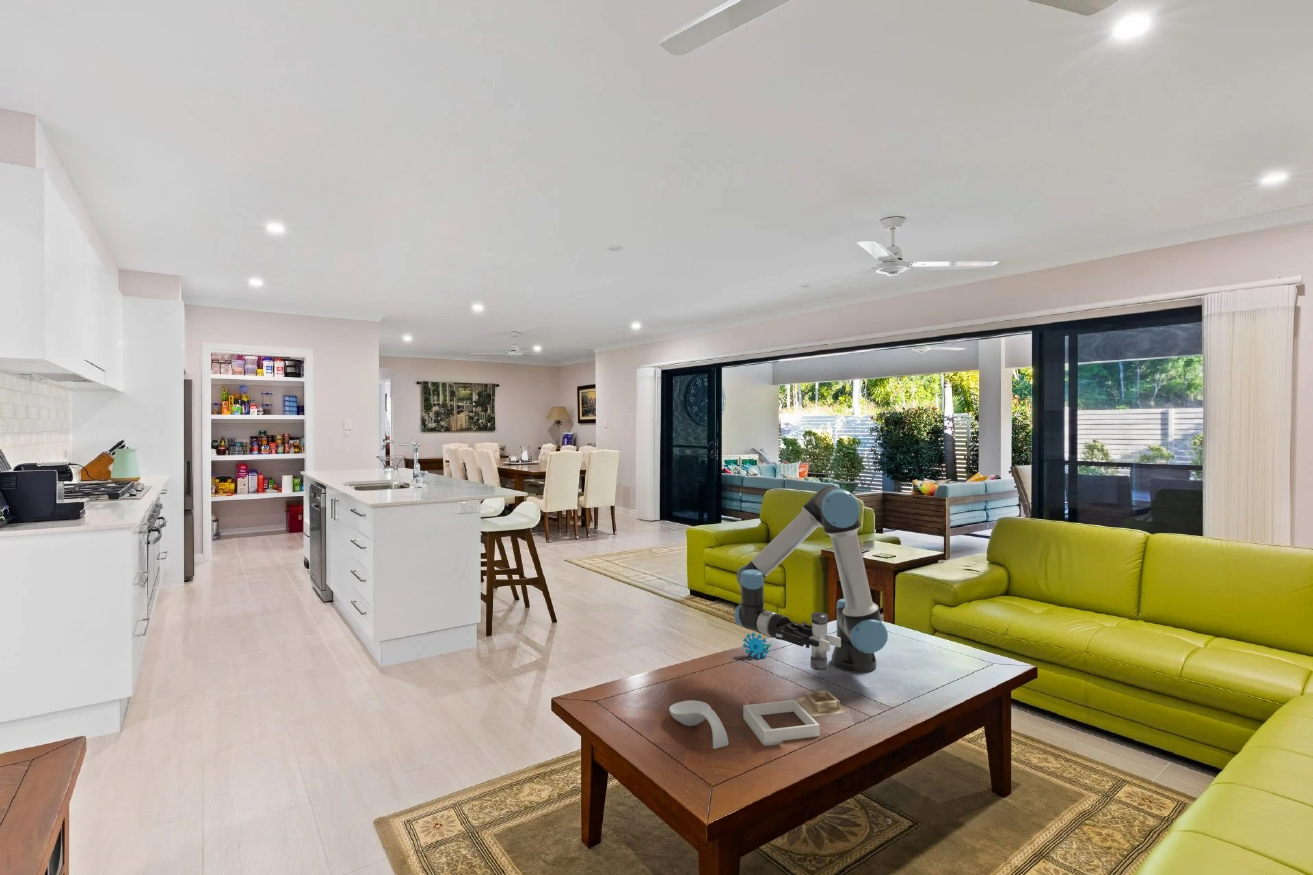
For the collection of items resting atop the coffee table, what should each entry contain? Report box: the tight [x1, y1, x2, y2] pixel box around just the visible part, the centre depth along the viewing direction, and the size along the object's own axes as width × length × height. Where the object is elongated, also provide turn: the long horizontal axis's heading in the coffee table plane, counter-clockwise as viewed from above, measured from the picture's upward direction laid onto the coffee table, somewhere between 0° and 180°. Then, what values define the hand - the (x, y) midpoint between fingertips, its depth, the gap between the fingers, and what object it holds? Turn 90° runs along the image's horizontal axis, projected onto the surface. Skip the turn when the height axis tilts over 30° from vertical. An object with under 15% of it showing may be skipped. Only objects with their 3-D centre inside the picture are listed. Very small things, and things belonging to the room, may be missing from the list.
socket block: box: [794, 689, 850, 717], centre depth 193 cm, size 12×12×4 cm
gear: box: [742, 632, 772, 660], centre depth 237 cm, size 11×6×10 cm
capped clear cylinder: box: [810, 611, 829, 672], centre depth 192 cm, size 5×5×16 cm
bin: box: [742, 699, 821, 747], centre depth 180 cm, size 16×16×4 cm
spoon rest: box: [668, 699, 729, 750], centre depth 181 cm, size 24×12×7 cm, turn 26°
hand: (834, 644), depth 188 cm, fingers closed on capped clear cylinder, 4 cm apart
